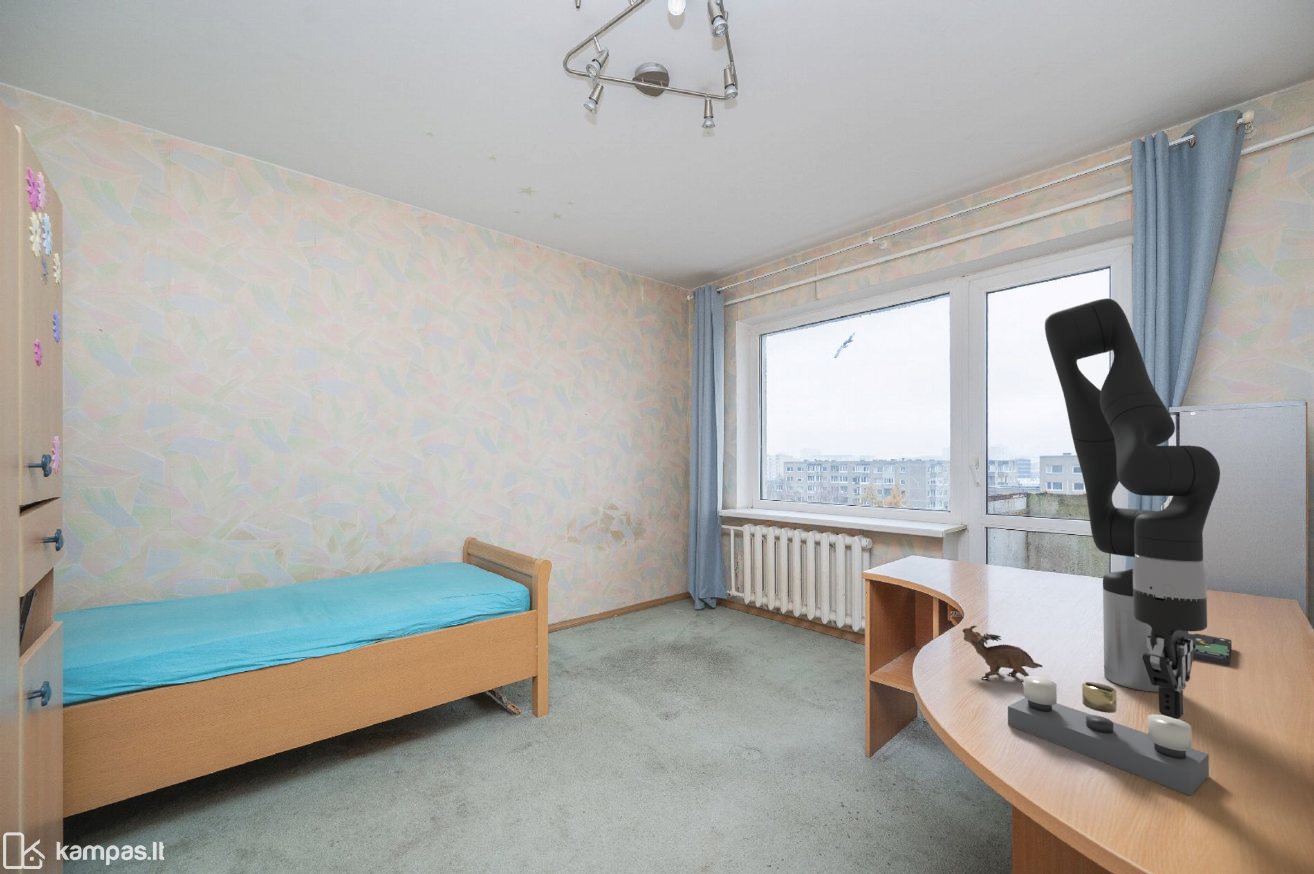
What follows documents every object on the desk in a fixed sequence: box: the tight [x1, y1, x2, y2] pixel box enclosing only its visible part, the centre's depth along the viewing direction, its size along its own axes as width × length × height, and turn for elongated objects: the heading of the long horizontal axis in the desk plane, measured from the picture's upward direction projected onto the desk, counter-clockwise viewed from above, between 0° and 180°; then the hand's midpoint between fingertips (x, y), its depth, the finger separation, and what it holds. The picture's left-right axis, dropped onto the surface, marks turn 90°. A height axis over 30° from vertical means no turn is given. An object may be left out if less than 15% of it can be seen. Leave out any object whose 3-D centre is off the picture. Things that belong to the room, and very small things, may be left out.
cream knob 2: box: [1147, 714, 1193, 751], centre depth 77 cm, size 4×4×3 cm
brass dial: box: [1081, 681, 1118, 714], centre depth 84 cm, size 4×4×3 cm
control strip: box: [1007, 697, 1210, 796], centre depth 83 cm, size 22×8×4 cm, turn 33°
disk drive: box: [1188, 633, 1233, 667], centre depth 124 cm, size 10×3×15 cm
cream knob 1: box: [1023, 675, 1058, 705], centre depth 90 cm, size 4×4×3 cm
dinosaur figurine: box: [962, 625, 1043, 683], centre depth 109 cm, size 14×6×9 cm, turn 67°
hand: (1171, 715), depth 77 cm, fingers closed
